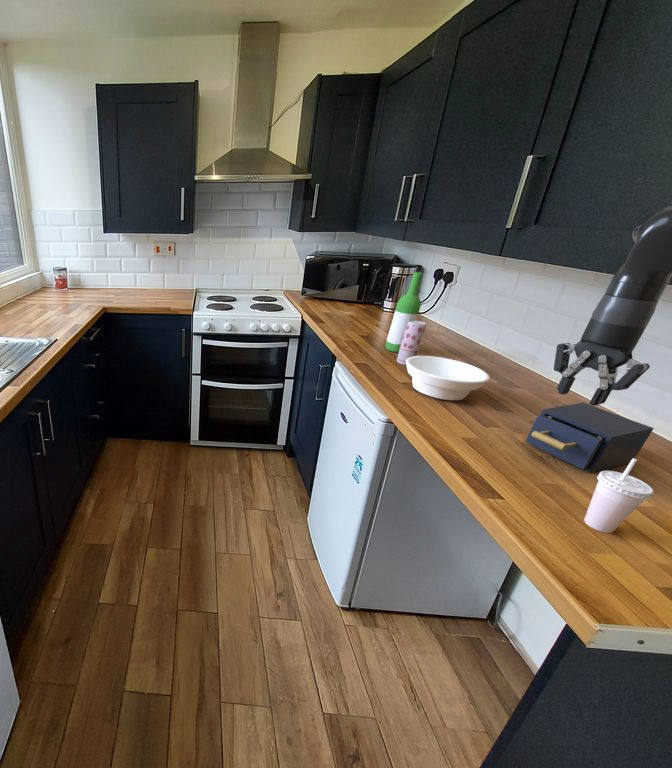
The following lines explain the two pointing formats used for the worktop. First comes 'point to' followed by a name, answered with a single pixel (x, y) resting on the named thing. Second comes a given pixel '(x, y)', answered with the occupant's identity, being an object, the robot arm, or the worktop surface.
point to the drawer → (565, 440)
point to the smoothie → (615, 499)
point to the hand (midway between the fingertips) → (577, 398)
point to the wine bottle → (404, 314)
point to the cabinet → (605, 433)
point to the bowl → (444, 377)
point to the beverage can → (411, 341)
